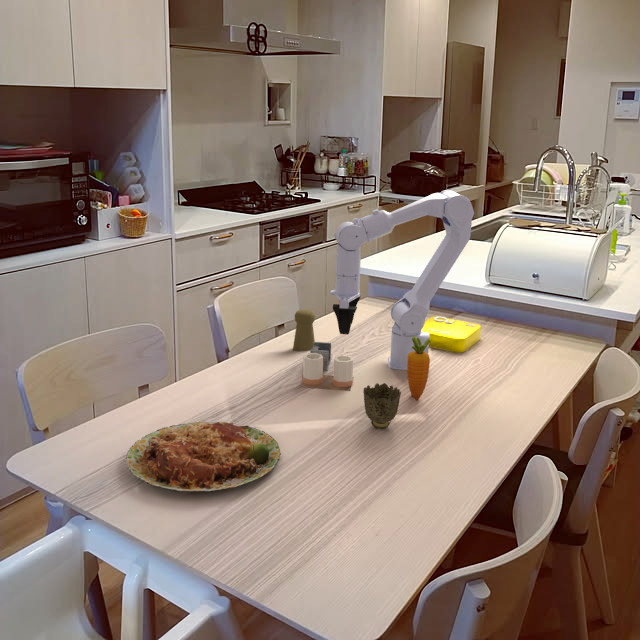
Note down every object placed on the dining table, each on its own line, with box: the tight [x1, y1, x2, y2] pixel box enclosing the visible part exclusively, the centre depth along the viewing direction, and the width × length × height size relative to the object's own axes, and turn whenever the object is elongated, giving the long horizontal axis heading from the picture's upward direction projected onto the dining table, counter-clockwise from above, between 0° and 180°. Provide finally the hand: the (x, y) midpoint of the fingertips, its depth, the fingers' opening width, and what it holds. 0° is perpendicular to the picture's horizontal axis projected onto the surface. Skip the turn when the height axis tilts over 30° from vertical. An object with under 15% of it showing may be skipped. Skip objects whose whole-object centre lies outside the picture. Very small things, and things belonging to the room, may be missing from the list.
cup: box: [362, 382, 402, 430], centre depth 142 cm, size 8×7×8 cm
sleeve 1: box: [302, 352, 324, 385], centre depth 161 cm, size 4×4×6 cm
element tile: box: [422, 315, 482, 354], centre depth 194 cm, size 15×15×5 cm
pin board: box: [301, 374, 354, 392], centre depth 161 cm, size 11×8×4 cm
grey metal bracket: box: [309, 341, 332, 372], centre depth 170 cm, size 11×6×6 cm, turn 82°
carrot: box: [406, 336, 431, 401], centre depth 153 cm, size 5×5×15 cm
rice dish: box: [125, 421, 282, 493], centre depth 129 cm, size 28×28×5 cm
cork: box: [292, 309, 316, 352], centre depth 182 cm, size 6×6×11 cm
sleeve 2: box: [333, 354, 354, 387], centre depth 160 cm, size 4×4×6 cm
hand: (346, 328), depth 171 cm, fingers open, 7 cm apart
